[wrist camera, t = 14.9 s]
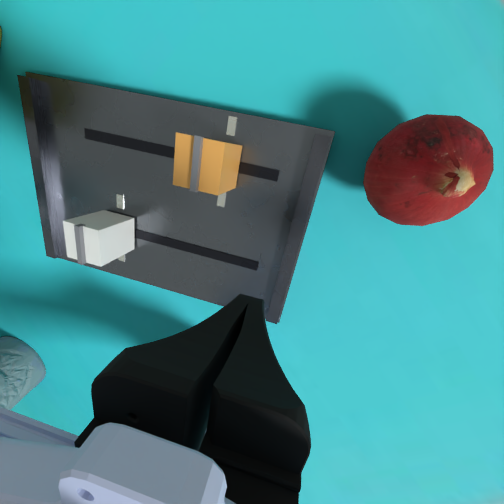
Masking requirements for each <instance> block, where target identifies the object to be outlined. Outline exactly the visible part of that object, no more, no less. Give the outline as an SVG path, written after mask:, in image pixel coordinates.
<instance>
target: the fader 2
mask: <svg viewBox="0 0 504 504" xmlns="http://www.w3.org/2000/svg"><path fill="white" fill-rule="evenodd" d="M241 151H242V146H241V145H237V144H232V143H227V142H222V141H218V140H213V139H208V138H205V137H201V136H196V135H194V136H193V135H188V134H182V133H177V132H176V138H175V155H174V172H173V185H176V186H180V187H184V188H188V189H190V191H192V192H198V191H201V192H205V193H209V194H214V195H220V194H223V193H225V192H227V191H230V190H232V189H234V188H236V182H237V176H238V170H239V164H240V157H241Z"/></svg>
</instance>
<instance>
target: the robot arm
mask: <svg viewBox="0 0 504 504" xmlns="http://www.w3.org/2000/svg"><path fill="white" fill-rule="evenodd" d="M264 303H265V302H264V300H263V299H259V298H255V297H251V296H248V295H244V294H239V295H237V296H236V297H235V298H234V299H233V300H232V301H231V302H229V303H228V304H227V305H226V306H224V307H223V308H222V309H220V310H219V311H218V312H216V313H215V314H213V315H212V316H210V317H209V318H207V319H206V320H204V321H202V322H201V323H199V324H197V325H195V326H193V327H191V328H189V329H187V330H185V331H182V332H180V333H178V334H175V335H173V336H170V337H167V338H164V339H161V340H157V341H154V342H150V343H146V344H142V345H138V346H133V347H129V348H125V349H124V350H123V351H122V352H121V353H120V354H119V355H117V356H116V357H115V358H114V359H113V360H112V361H111V362H110V363H109V364H108V365H107V366H106V367H105V368H104V370H103V371H102V372H101V373H100V374H99V375H98V376H97V377H96V378H95V379H94V381H93V383H92V388H91V394H92V402H93V410H94V418H93V420H92V421H91V422H90V423H89V425H88V426H87V427H86V428H85V429H84V431H83V432H82V433H81V434H80V436H77V435H74V434H71V433H69V432H66V431H64V430H61V429H58V428H56V427H53V426H50V425H48V424H45V423H42V422H40V421H37V420H34V419H32V418H29V417H26V416H24V415H21V414H18V413H16V412H13V411H10V410H8V409H5V408H2V407H0V504H298V498H299V492H300V489H301V472H302V470H303V468H304V465H305V463H306V461H307V459H308V456H309V454H310V449H311V439H310V430H309V424H308V418H307V414H306V409H305V405H304V404H303V402H302V401H301V400H300V398H299V397H298V395H297V394H296V393H295V391H294V390H293V388H292V387H291V385H290V383H289V382H288V380H287V378H286V376H285V375H284V373H283V371H282V369H281V367H280V365H279V363H278V361H277V358H276V356H275V354H274V351H273V348H272V346H271V343H270V339H269V336H268V332H267V328H266V323H265V316H264Z"/></svg>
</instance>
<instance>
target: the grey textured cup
mask: <svg viewBox="0 0 504 504" xmlns="http://www.w3.org/2000/svg"><path fill="white" fill-rule="evenodd" d="M45 370H46V369H45V366H44V364H43V361H42V360H41V358H40V356H38V354H37V353H36V351H35V350H34V349H32V348H31V347H30V346H29V345H27V344H26V343H25V342H23V341H21V340H19V339H17V338H14V337H10V336H4V337H0V407H2V408H5V409H8V410H11V409H12V408H13V407H14V406H15V405H16V404H17V403H18V402H19V401H20V400H21V399H22V398H23V397H24V396H25V395H26V394H27V393H28V392H30V391H31V390H32V389H33V388H34V387H36V386H37V385H38V384H39V383H40V382H41V381H42V380H43V379H44V377H45V374H46V371H45Z"/></svg>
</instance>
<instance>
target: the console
mask: <svg viewBox="0 0 504 504" xmlns="http://www.w3.org/2000/svg"><path fill="white" fill-rule="evenodd" d="M25 73H26V77H25V76H20V75H17V76H18V82H19V88H20V95H21V101H22V107H23V113H24V119H25V126H26V132H27V138H28V144H29V150H30V156H31V163H32V169H33V175H34V181H35V187H36V193H37V200H38V206H39V212H40V218H41V224H42V231H43V237H44V243H45V249H46V255H47V256H49V257H52V258H62V259H65V260H68V261H72V262H75V263H78V260H76V259H73V258H69V257H67V251H66V243H65V235H64V227H63V221H64V220H68V219H72V218H75V217H79V216H83V215H87V214H91V213H95V212H98V211H102V210H106V211H109V212H113V213H117V214H121V215H125V216H129V217H132V218H134V250H132V251H130V252H128V253H126V254H124V255H122V256H120V257H119V258H117V259H115V260H113V261H111V262H109V263H107V264H105V265H103V266H102V267H100V266H96V265H93V264H90V263H85V264H83V265H85V266H89V267H92V268H95V269H99V270H102V271H106V272H109V273H112V274H116V275H119V276H123V277H126V278H129V279H133V280H136V281H140V282H143V283H146V284H150V285H153V286H157V287H160V288H163V289H167V290H170V291H174V292H177V293H180V294H184V295H187V296H190V297H194V298H197V299H201V300H204V301H207V302H211V303H214V304H218V305H221V306H226V305H227V304H228V303H229V302H231V301H232V300H233V299H234V298H235V297H236V296H237V295H239V294H244V295H248V296H251V297H255V298H259V299H263V300H264V302H265V303H264V316H265V319H266V321H268V322H272V323H275V324H277V322H279V321H280V317H281V314H282V310H283V307H284V304H285V300H286V297H287V293H288V290H289V287H290V283H291V280H292V276H293V273H294V270H295V266H296V263H297V259H298V256H299V253H300V249H301V246H302V242H303V239H304V236H305V232H306V229H307V225H308V222H309V219H310V215H311V212H312V208H313V205H314V202H315V198H316V195H317V191H318V188H319V185H320V181H321V178H322V174H323V171H324V168H325V164H326V161H327V157H328V154H329V151H330V147H331V144H332V140H333V137H334V134H335V131H330V130H325V129H320V128H315V127H310V126H304V125H299V124H294V123H289V122H284V121H279V120H273V119H268V118H263V117H258V116H253V115H247V114H242V113H237V112H232V111H227V110H222V109H216V108H211V107H206V106H201V105H196V104H190V103H185V102H180V101H175V100H170V99H165V98H159V97H154V96H149V95H144V94H139V93H133V92H128V91H123V90H118V89H113V88H108V87H102V86H97V85H92V84H87V83H82V82H76V81H71V80H66V79H61V78H56V77H51V76H45V75H40V74H35V73H30V72H25ZM176 132H177V133H182V134H188V135H193V136H194V135H196V136H201V137H205V138H208V139H213V140H218V141H222V142H227V143H232V144H237V145H241V146H242V151H241V157H240V164H239V170H238V176H237V182H236V188H234V189H232V190H230V191H227V192H225V193H223V194H220V195H214V194H209V193H205V192H201V191H198V192H192V191H190V189H188V188H184V187H180V186H176V185H173V172H174V155H175V138H176Z"/></svg>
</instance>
